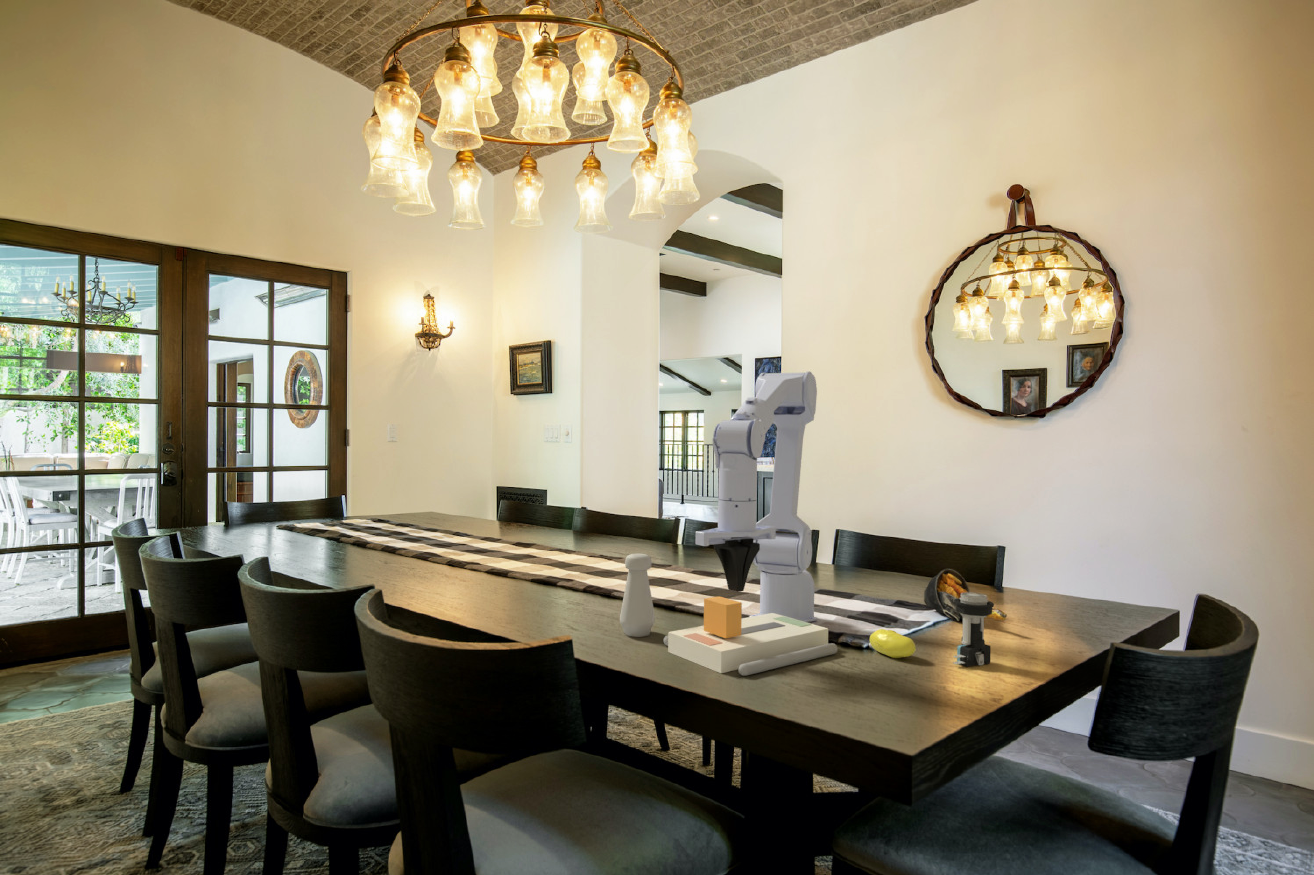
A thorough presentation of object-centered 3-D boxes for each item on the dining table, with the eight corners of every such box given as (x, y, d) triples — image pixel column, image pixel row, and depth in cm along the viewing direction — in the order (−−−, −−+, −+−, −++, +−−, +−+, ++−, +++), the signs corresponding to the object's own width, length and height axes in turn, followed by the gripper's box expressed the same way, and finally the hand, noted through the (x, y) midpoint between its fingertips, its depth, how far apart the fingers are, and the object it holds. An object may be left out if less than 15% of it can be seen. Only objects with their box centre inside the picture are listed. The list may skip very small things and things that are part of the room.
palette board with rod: (753, 627, 127) (753, 617, 127) (839, 654, 112) (839, 643, 112) (661, 645, 115) (661, 635, 115) (743, 678, 100) (743, 666, 100)
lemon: (882, 647, 116) (882, 622, 116) (922, 661, 109) (922, 635, 109) (862, 650, 114) (862, 625, 114) (901, 665, 107) (902, 638, 107)
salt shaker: (650, 639, 118) (651, 558, 118) (615, 637, 119) (616, 556, 119) (657, 630, 124) (659, 552, 124) (624, 627, 125) (625, 550, 125)
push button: (969, 672, 104) (971, 601, 104) (938, 662, 108) (940, 593, 108) (1000, 666, 107) (1002, 596, 107) (969, 656, 112) (970, 589, 112)
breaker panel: (772, 630, 125) (772, 612, 125) (827, 647, 115) (828, 627, 115) (668, 651, 112) (668, 631, 112) (720, 673, 102) (721, 650, 102)
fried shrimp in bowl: (947, 581, 145) (1028, 566, 130) (945, 637, 140) (1028, 628, 125) (912, 566, 142) (991, 549, 127) (908, 623, 137) (990, 612, 122)
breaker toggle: (718, 627, 113) (719, 596, 113) (741, 635, 109) (741, 602, 109) (703, 630, 111) (704, 598, 111) (725, 638, 107) (726, 605, 107)
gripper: (718, 504, 104) (717, 601, 104) (790, 500, 112) (789, 589, 113) (686, 500, 110) (685, 592, 110) (757, 496, 118) (756, 581, 118)
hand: (735, 590), depth 111 cm, fingers closed
